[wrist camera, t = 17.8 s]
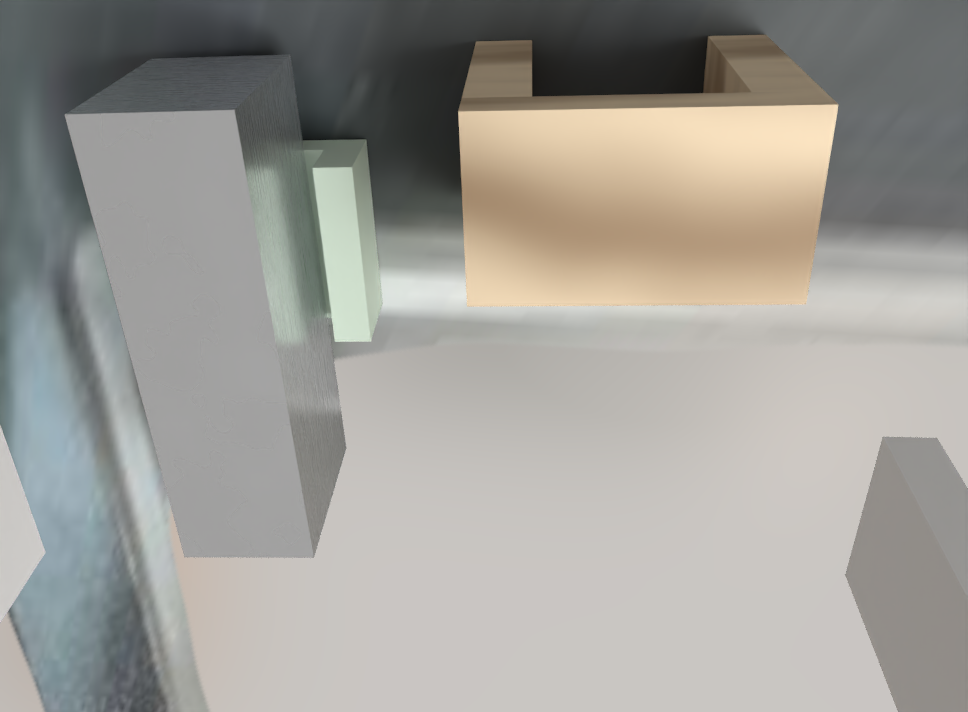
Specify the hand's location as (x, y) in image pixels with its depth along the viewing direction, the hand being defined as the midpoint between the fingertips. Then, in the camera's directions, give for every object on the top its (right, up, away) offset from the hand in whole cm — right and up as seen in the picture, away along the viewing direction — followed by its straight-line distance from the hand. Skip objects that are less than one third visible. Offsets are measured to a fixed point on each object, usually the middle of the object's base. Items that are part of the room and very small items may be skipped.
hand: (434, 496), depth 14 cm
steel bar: (-8, +5, +23) cm, 25 cm away
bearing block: (+6, +11, +20) cm, 24 cm away
